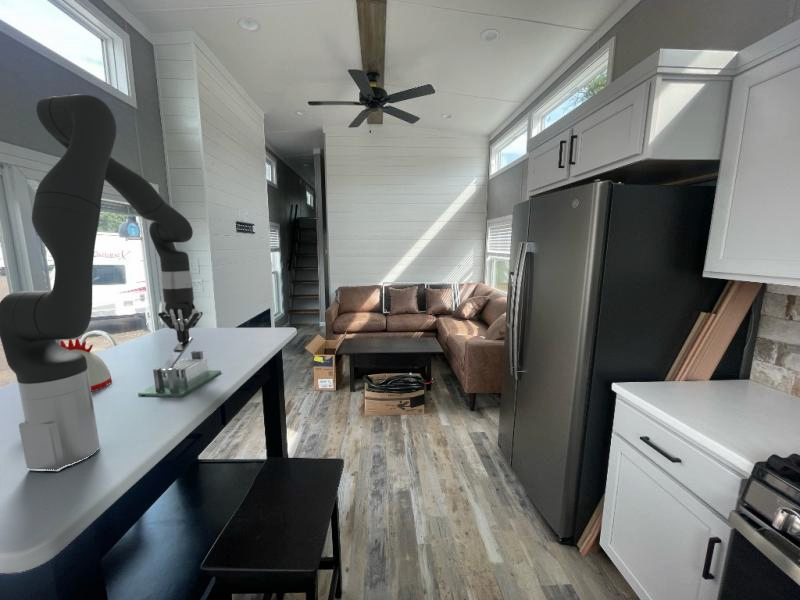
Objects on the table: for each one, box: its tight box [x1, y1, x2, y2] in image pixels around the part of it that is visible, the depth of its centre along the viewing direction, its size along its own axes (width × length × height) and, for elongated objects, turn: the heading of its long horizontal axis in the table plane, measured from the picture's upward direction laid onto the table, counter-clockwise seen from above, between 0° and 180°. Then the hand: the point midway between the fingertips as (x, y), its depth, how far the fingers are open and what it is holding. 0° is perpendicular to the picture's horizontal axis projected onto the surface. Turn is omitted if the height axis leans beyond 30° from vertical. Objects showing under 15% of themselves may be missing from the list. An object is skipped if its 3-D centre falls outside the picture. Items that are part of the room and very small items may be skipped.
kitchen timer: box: [59, 337, 112, 392], centre depth 97 cm, size 14×14×15 cm
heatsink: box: [137, 350, 222, 398], centre depth 100 cm, size 18×13×8 cm
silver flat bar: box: [159, 336, 194, 373], centre depth 98 cm, size 13×3×1 cm
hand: (183, 341), depth 101 cm, fingers closed
